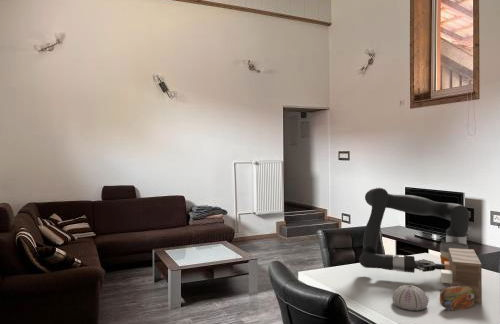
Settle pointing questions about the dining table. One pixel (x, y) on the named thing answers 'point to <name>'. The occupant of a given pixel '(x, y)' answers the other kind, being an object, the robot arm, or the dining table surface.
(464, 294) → the tin
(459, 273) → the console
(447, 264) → the terracotta key
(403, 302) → the sea urchin shell
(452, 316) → the dining table surface
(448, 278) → the cream key
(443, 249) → the reusable coffee cup
